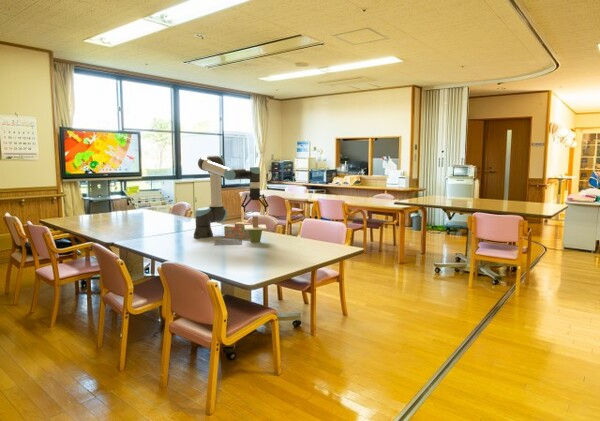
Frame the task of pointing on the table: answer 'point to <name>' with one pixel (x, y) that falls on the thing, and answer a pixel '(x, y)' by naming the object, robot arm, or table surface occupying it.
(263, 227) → the lid
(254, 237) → the plant pot
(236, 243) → the mat
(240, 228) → the stack of blocks
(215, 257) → the table surface
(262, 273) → the table surface
